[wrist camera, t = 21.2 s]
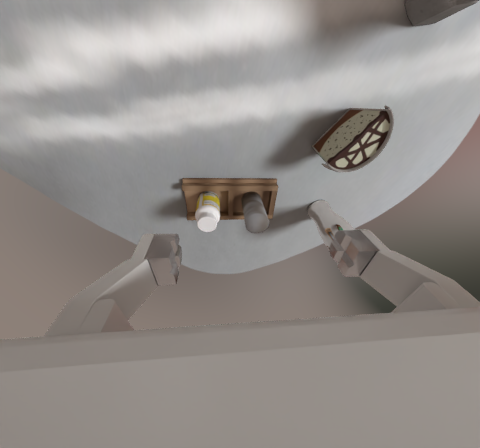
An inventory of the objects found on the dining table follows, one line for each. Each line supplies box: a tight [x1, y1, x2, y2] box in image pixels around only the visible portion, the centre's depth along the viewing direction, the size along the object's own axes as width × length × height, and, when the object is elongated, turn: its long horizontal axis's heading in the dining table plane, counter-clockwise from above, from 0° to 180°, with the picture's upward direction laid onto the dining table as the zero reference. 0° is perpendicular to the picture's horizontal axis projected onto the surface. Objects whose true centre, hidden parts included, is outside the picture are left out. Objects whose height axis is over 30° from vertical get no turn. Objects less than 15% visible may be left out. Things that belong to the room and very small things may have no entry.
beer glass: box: [307, 200, 355, 249], centre depth 45 cm, size 7×7×15 cm
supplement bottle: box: [195, 191, 220, 232], centre depth 42 cm, size 5×5×10 cm
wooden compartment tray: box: [182, 178, 278, 233], centre depth 42 cm, size 22×11×11 cm, turn 88°
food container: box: [312, 105, 394, 172], centre depth 36 cm, size 12×6×10 cm, turn 140°
